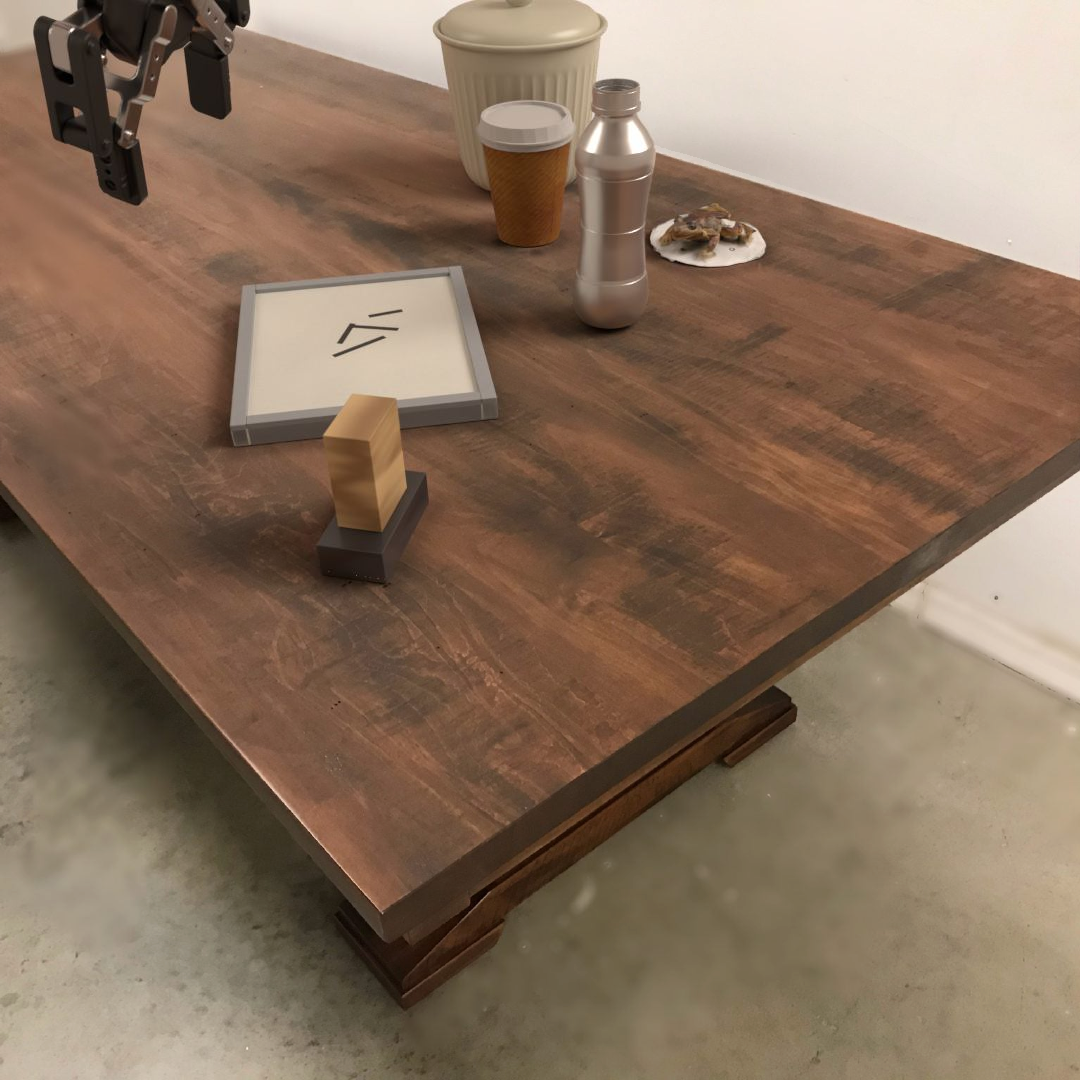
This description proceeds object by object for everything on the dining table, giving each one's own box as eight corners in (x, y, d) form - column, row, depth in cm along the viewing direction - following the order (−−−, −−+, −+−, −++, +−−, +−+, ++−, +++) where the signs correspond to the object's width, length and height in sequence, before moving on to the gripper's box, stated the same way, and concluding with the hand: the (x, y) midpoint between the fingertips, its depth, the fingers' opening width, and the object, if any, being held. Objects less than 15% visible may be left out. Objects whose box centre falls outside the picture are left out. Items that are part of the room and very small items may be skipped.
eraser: (321, 575, 71) (298, 452, 65) (369, 494, 77) (352, 376, 72) (386, 584, 70) (368, 460, 64) (429, 501, 77) (417, 383, 71)
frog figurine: (723, 279, 103) (726, 241, 101) (623, 245, 109) (624, 208, 107) (790, 241, 110) (794, 204, 107) (692, 211, 116) (694, 175, 114)
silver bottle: (560, 312, 98) (558, 79, 86) (627, 298, 100) (635, 68, 88) (591, 344, 94) (594, 103, 81) (661, 328, 96) (674, 90, 83)
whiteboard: (234, 447, 82) (229, 425, 81) (246, 304, 101) (242, 285, 100) (498, 418, 85) (496, 397, 84) (462, 284, 103) (460, 265, 102)
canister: (427, 163, 129) (411, -36, 115) (573, 144, 133) (573, -51, 120) (468, 221, 115) (454, 2, 102) (629, 197, 119) (635, -16, 106)
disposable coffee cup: (558, 259, 107) (557, 134, 100) (468, 247, 110) (460, 125, 102) (587, 221, 114) (588, 103, 107) (501, 211, 117) (496, 95, 109)
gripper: (138, -255, 51) (178, 66, 64) (-67, -137, 43) (28, 204, 56) (285, -205, 50) (295, 109, 63) (107, -75, 42) (161, 255, 55)
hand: (170, 153), depth 59 cm, fingers open, 8 cm apart
